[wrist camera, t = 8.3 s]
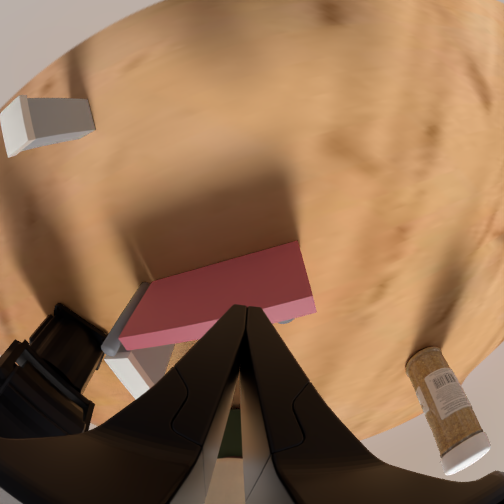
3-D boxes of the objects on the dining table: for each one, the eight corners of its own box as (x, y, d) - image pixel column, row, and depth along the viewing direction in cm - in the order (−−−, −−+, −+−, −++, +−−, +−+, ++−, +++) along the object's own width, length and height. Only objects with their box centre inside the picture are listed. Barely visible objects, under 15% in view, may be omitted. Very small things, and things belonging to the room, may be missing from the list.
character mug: (206, 432, 30) (193, 520, 19) (186, 403, 27) (164, 506, 16) (292, 427, 29) (296, 522, 17) (285, 397, 26) (290, 512, 14)
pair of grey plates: (181, 334, 23) (158, 401, 16) (161, 336, 23) (135, 400, 16) (89, 96, 15) (17, 95, 8) (69, 109, 15) (-2, 114, 8)
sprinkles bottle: (397, 375, 25) (435, 482, 13) (416, 344, 23) (469, 457, 11) (428, 373, 25) (469, 468, 13) (447, 343, 23) (501, 442, 11)
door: (163, 302, 21) (135, 362, 15) (152, 281, 20) (118, 338, 14) (304, 266, 19) (320, 327, 13) (297, 240, 18) (312, 295, 13)
